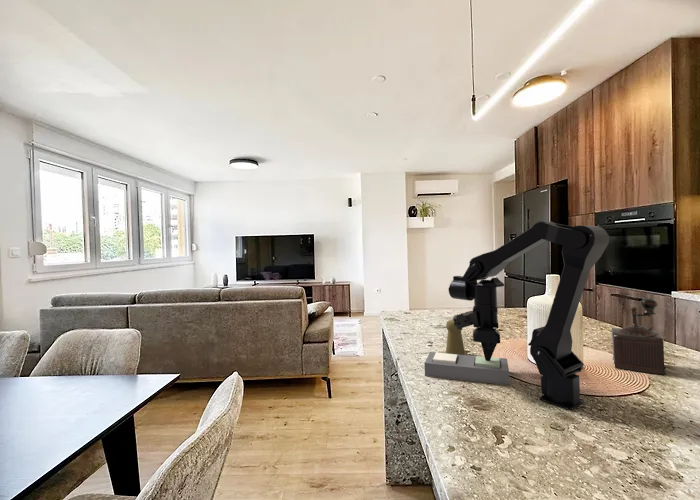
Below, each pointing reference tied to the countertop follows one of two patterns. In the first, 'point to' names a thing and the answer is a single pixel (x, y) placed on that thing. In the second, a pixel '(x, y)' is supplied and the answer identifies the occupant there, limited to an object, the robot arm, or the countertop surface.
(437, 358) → the cream key
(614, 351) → the brown manual coffee grinder
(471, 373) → the key panel
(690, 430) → the countertop surface
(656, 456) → the countertop surface
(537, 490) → the countertop surface
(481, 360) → the sage key
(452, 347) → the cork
